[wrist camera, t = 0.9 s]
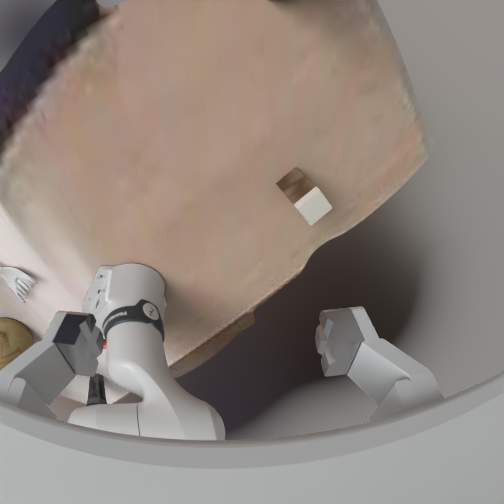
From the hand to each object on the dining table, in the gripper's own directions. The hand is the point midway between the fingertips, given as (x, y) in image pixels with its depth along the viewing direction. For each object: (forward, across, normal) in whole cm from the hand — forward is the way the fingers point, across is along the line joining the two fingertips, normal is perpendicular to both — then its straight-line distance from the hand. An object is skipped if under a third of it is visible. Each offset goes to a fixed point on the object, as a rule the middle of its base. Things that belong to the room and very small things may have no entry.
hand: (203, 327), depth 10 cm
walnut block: (+47, +13, -11) cm, 50 cm away
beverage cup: (+41, -45, -70) cm, 93 cm away
